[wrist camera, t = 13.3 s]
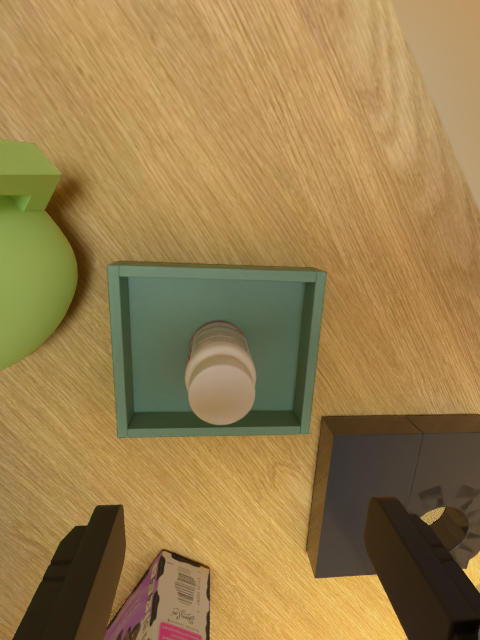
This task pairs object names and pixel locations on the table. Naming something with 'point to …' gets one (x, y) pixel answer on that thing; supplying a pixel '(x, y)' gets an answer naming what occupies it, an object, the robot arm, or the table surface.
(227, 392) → the pill bottle
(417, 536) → the robot arm
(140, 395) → the tray
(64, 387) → the table surface
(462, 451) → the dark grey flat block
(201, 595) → the candy box
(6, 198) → the teapot
